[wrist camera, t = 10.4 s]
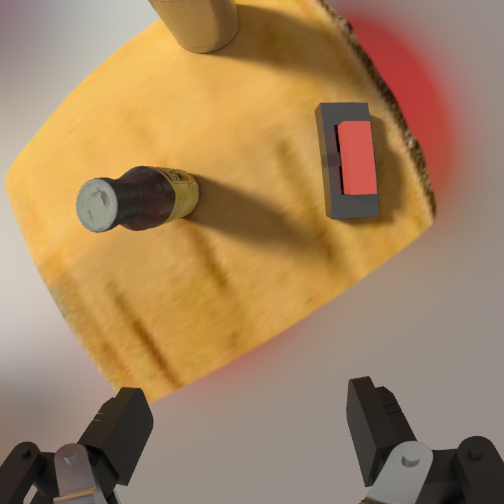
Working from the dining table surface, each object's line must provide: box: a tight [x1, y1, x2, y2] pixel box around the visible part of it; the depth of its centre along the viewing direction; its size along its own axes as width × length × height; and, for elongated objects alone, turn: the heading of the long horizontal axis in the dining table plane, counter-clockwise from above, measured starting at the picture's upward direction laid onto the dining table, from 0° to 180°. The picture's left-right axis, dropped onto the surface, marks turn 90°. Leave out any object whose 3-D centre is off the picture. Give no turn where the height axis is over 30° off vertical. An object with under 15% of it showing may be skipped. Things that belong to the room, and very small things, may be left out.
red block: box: [335, 121, 377, 195], centre depth 33 cm, size 8×3×7 cm, turn 6°
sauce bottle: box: [76, 166, 200, 232], centre depth 29 cm, size 6×6×20 cm
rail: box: [315, 103, 379, 219], centre depth 35 cm, size 14×6×4 cm, turn 6°
